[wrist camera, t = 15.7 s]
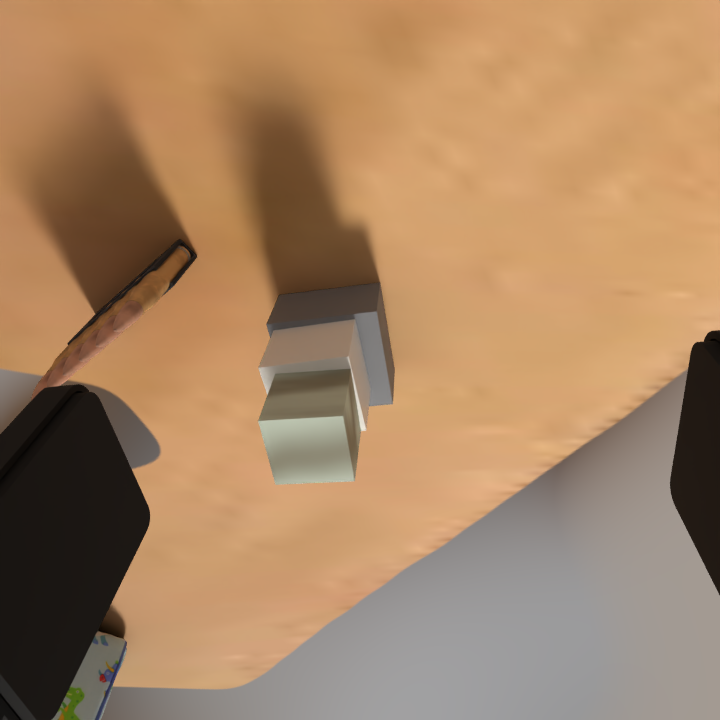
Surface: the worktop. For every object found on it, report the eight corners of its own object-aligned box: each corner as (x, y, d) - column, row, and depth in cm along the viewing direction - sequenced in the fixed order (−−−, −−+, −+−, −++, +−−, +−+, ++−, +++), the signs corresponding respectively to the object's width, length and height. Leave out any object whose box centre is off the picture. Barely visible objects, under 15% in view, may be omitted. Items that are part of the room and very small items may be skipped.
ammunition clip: (180, 237, 45) (112, 311, 35) (198, 256, 46) (136, 333, 36) (95, 314, 49) (12, 399, 39) (113, 330, 50) (36, 418, 40)
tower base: (279, 293, 47) (266, 324, 43) (380, 281, 46) (376, 311, 42) (301, 377, 51) (291, 413, 47) (394, 368, 50) (392, 404, 46)
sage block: (275, 373, 39) (258, 420, 35) (350, 368, 38) (342, 415, 34) (289, 433, 42) (275, 484, 37) (360, 429, 41) (354, 481, 37)
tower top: (273, 330, 43) (258, 367, 39) (355, 319, 42) (348, 356, 38) (294, 397, 46) (282, 439, 42) (370, 388, 45) (366, 430, 41)
